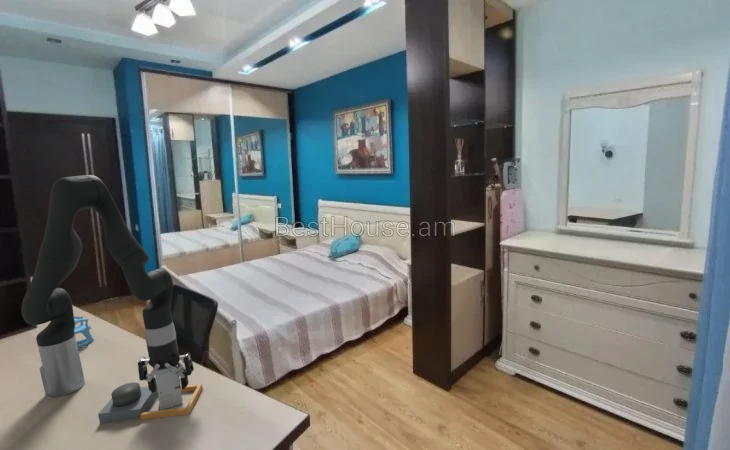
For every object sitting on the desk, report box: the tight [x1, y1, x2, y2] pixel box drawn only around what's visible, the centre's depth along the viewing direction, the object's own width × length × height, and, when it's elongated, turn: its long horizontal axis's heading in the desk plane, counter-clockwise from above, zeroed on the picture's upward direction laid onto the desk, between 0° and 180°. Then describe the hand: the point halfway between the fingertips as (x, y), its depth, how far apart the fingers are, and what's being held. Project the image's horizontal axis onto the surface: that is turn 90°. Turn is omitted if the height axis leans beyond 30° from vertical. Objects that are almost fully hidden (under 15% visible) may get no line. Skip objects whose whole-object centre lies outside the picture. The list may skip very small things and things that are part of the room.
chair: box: [74, 315, 95, 350], centre depth 147 cm, size 8×8×12 cm
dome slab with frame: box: [97, 382, 203, 424], centre depth 108 cm, size 24×12×6 cm, turn 97°
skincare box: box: [154, 365, 183, 410], centre depth 108 cm, size 6×4×12 cm
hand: (169, 389), depth 108 cm, fingers open, 8 cm apart
